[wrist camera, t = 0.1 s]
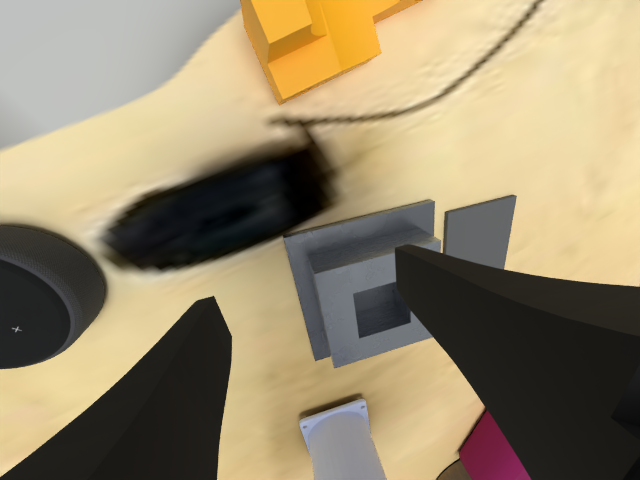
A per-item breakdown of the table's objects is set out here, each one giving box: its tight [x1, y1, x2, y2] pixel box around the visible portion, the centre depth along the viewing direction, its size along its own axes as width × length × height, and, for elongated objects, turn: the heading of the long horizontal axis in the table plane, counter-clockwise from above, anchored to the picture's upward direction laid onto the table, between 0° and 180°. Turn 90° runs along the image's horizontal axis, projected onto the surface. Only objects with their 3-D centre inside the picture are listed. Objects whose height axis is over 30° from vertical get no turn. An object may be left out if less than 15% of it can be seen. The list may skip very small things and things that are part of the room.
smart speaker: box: [0, 226, 104, 369], centre depth 16 cm, size 9×9×4 cm
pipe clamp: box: [240, 0, 422, 105], centre depth 13 cm, size 12×4×6 cm, turn 114°
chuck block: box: [283, 200, 441, 368], centre depth 22 cm, size 14×13×4 cm
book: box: [459, 410, 531, 480], centre depth 36 cm, size 21×28×8 cm
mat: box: [443, 195, 517, 269], centre depth 25 cm, size 9×7×1 cm
